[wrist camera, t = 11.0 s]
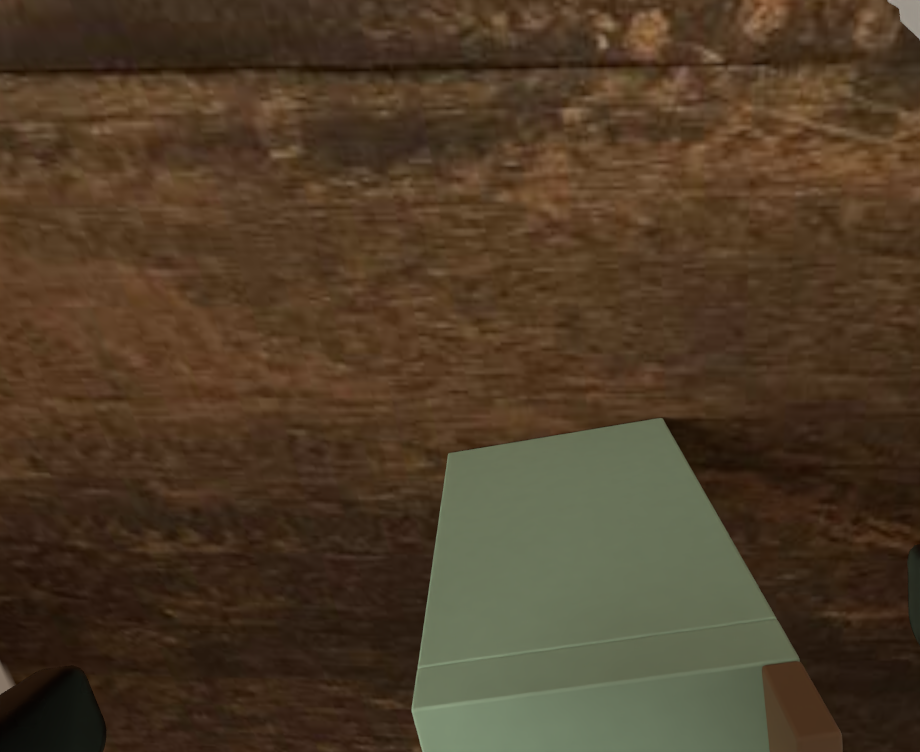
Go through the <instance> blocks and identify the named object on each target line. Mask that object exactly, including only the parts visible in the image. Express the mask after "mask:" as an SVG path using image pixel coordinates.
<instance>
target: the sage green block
mask: <svg viewBox="0 0 920 752" xmlns="http://www.w3.org/2000/svg"><path fill="white" fill-rule="evenodd" d="M411 711H412V714H413V718H414V722H415V726H416V729H417V733H418V737H419V741H420V744H421V748H422V752H843V745H842V733H841V732H840V730H839V728H838V726H837V725H836V723H835V721H834V719H833V718H832V716H831V714H830V712H829V710H828V709H827V707H826V705H825V703H824V702H823V700H822V698H821V696H820V695H819V693H818V691H817V689H816V688H815V686H814V684H813V682H812V681H811V679H810V677H809V675H808V674H807V672H806V670H805V668H804V666H803V665H802V663H801V662H800V659H799V657H798V655H797V653H796V652H795V650H794V648H793V646H792V645H791V643H790V641H789V639H788V638H787V636H786V634H785V632H784V631H783V629H782V627H781V625H780V624H779V622H778V620H777V619H776V617H775V615H774V613H773V611H772V610H771V608H770V606H769V604H768V603H767V601H766V599H765V597H764V596H763V594H762V592H761V590H760V589H759V587H758V585H757V583H756V582H755V580H754V578H753V576H752V575H751V573H750V571H749V569H748V568H747V566H746V564H745V562H744V560H743V559H742V557H741V555H740V553H739V552H738V550H737V548H736V546H735V545H734V543H733V541H732V539H731V538H730V536H729V534H728V532H727V531H726V529H725V527H724V525H723V524H722V522H721V520H720V518H719V517H718V515H717V513H716V511H715V510H714V508H713V506H712V504H711V502H710V501H709V499H708V497H707V495H706V494H705V492H704V490H703V488H702V487H701V485H700V483H699V481H698V480H697V478H696V476H695V474H694V473H693V471H692V469H691V467H690V466H689V464H688V462H687V460H686V459H685V457H684V455H683V453H682V451H681V450H680V448H679V446H678V444H677V443H676V441H675V439H674V437H673V436H672V434H671V432H670V430H669V429H668V427H667V425H666V423H665V422H664V420H663V418H657V419H651V420H645V421H639V422H633V423H627V424H621V425H615V426H609V427H603V428H597V429H591V430H585V431H579V432H573V433H567V434H561V435H555V436H549V437H544V438H538V439H532V440H526V441H520V442H514V443H508V444H502V445H496V446H490V447H484V448H478V449H472V450H466V451H460V452H454V453H449V454H448V459H447V466H446V473H445V480H444V487H443V494H442V501H441V508H440V515H439V522H438V529H437V536H436V543H435V550H434V557H433V564H432V571H431V578H430V585H429V592H428V599H427V606H426V613H425V620H424V627H423V634H422V641H421V648H420V655H419V662H418V670H417V675H416V682H415V689H414V696H413V703H412V710H411Z"/></svg>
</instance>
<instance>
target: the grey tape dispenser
mask: <svg viewBox="0 0 920 752" xmlns="http://www.w3.org/2000/svg"><path fill="white" fill-rule="evenodd" d="M888 2H889V3H891V4H893V5H894V6H896V7H898V8H899V11H900V21H901V22H902V23H903V24H904V25H905V26H906V27H907V28H908V29H909V30H910V31H911V32H913V33H914V34H915V35H916V36H917V37H918V38H919V39H920V0H888Z"/></svg>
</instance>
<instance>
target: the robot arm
mask: <svg viewBox="0 0 920 752" xmlns="http://www.w3.org/2000/svg"><path fill="white" fill-rule="evenodd" d="M908 608H909V620H910V624H911V628H912V631H913V633H914V636H915V638H916V640H917V642H918V644H919V645H920V544H918V545H915V546H914V547H913V548H912V549H911V550H910V551H909V555H908ZM105 742H106V726H105V721H104V718H103V716H102V713H101V711H100V709H99V706H98V704H97V701H96V699H95V696H94V694H93V691H92V689H91V687H90V684H89V682H88V679H87V677H86V675H85V673H84V672H83V671H82V670H81V669H80V668H79V667H76V666H72V665H71V666H64V667H56V668H49V669H43V670H41V671H38V672H36V673H34V674H33V675H31V676H29V677H28V678H26V679H25V680H23V681H21V682H20V683H18V684H17V685H15V686H13V687H12V688H10V689H9V690H7V691H5V692H4V693H2V694H1V695H0V752H103V750H104V747H105Z"/></svg>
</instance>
